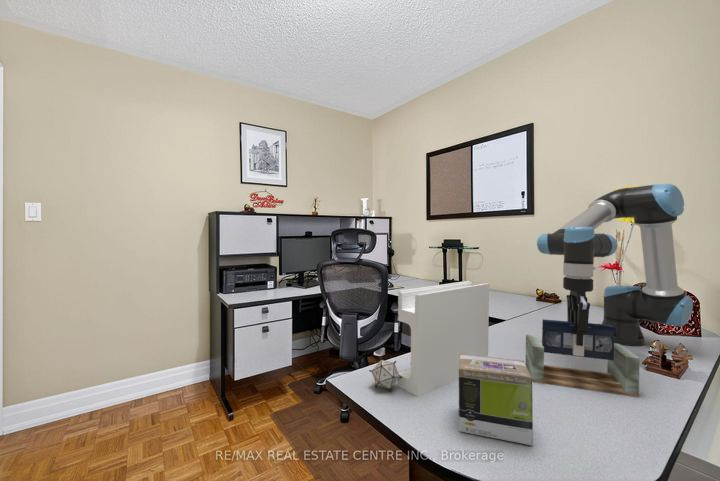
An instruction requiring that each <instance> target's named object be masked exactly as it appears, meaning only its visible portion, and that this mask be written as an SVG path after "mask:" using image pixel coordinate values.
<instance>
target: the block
mask: <svg viewBox="0 0 720 481" xmlns="http://www.w3.org/2000/svg"><path fill="white" fill-rule="evenodd" d="M472 284H473V282H472V281H471V280H465V281H464V280H463V281H459V282H458V281H457V282H451V283H450V282H449V283H445V284H436V285H430V286H423V287H414V288H409V289H401V290H398V291H397V292H398V293H397V294H398V297H397V299H398V300H397V305H398V307H397V315H398V316H397V321H399V322H402V323H404V324H407V325H408V326H409V327H410V369H407V370H404V371H401V372H398V374H399V376H401V377H402V378H399V379H398V380H397V386H398V387H400V388H402V389H403V390H405V391H406V392H409V393H410V394H411V395H413V396H416V397H418V398H419V397H421V396H424V395H425V394H427V393H430V392H432V391H434V390H436V389H438V388H442V387H443V386H445V385H447V384H449V383H451V382H454V381H456V380H459V356H460V354H466V355H476V356H485V357H489V330H490V329H489V323H490V322H489V320H490V319H489V317H490V315H489V314H490V313H489V312H490V283H489V282H488V283H487V282H486V283H480V284H474V285H472Z"/></svg>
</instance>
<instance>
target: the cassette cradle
mask: <svg viewBox="0 0 720 481" xmlns="http://www.w3.org/2000/svg"><path fill="white" fill-rule="evenodd" d="M640 362H641V361H640V357H638V356H637V355H636V354H635V353H633V352H631V351H630V350H628V349H627V348H626V347H625V346H624V345H623V344H618V343H614V360H607V367H606V368H607V370H606V371H607V372H601V371H594V370H585V369H579V368H571V367H562V366H554V365H548V364H545V352H544V347H543V345H542V341H540V339H539V338H538V336H537V335H535V334H534V335H533V334H527V333H526V334H525V365H526V367H527V369H528V371H529V373H530V375H531V377H532V383H537V384H538V383H540V384H547V385H554V386H559V387H565V388H566V387H567V388H573V389H578V390H579V389H581V390H587V391H588V390H589V391H594V392H601V393H606V394H607V393H609V394H614V395H621V396H628V397H636V398H639V397H640V394H639V393H640Z"/></svg>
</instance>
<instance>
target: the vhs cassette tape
mask: <svg viewBox="0 0 720 481" xmlns="http://www.w3.org/2000/svg"><path fill="white" fill-rule="evenodd" d="M541 327H542V328H541V330H542V331H541V334H542V335H541V344H542V345H543V347H544V353H547V354H556V355H562V356H563V355H564V356H572V357H577V356H576V355H573V334H572V332H574V322H569V321H568V320H556V319H555V320H554V319H545V318H544V319H542V326H541ZM614 333H615V332H614V327H613V326H612V325H604V324H602V323H591V322H588V334H587V335H584V356H578V357H580V358H586V359H587V358H588V359H595V360H596V359H597V360H606V361H608V360H614Z"/></svg>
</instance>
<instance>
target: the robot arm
mask: <svg viewBox="0 0 720 481" xmlns="http://www.w3.org/2000/svg"><path fill="white" fill-rule="evenodd" d="M684 206H685V201H684V197H683V194H682V191H681V190H680V188H678V187H677V186H676V185H675V184H671V183H663V184H660V183H659V184H658V183H656V184H650V185H649V184H648V185H641V186H635V187H623V188H618V189H615V190H612V191H609V192H608V193H606V194H604V195H602V196H600V197H598V198H596V199H595V200H593V201H592V202H590V203H589V205H588V207H587V208H586V209H585V210H584V211H582V212H581V213H579V214H578V215H577V216H576V217H574V218H572V219H571V220H570V221H568V222H567V223H565V224H564V225H563V226H561V227H560V228H558V229H557V230H556V231H553V233H549V232H548V233H542V234H540V235H539V236H538V238H537V241H536V246H537V250H538V251H539V252H540V253H541V254H544V255H554V256H555V255H556V256H563V263H562V264H563V267H562V268H563V269H562V274H563V276H564V277H563V278H562V287H563V289H564V290H566V291H569V294H566V305H567V306H566V308H567V311H566V312H567V315H566V316H567V318H566V319H567V321H569V322H574V332H572V334H573V355H576V356H575V357H579V356H584V335H587V334H588V323H589V317H590V316H589V314H590V308H591V304H590V302H588V297H587V295H586V294H587V292H588V293H589V292H593V291H594V279H593V277H594V271H595V270H596V267H595V266H594V263H595V262H594V261H595V259H594V258H605V257H610V256H612V255H613V254H615V253H616V252H617V250H618V241H617V240H616V238H615V237H613V236H612V235H610V234H609V233H608V234H606V233H595V230H596V229H597V228H598V227H601V225H602V224H604V223H608V222H609V223H610V222H611V221H612V220H614V219H624V218H625V219H627V218H628V219H629V218H632V219H633V221H634V224H635V225H637V226H638V227H639V229H640V238H641V246H642V257H643V265H644V274H645V284H646V285H645V286H643V287H642V288H641V287H640V286H638V285H612V286H611V285H610V286H606V287H605V288H604V293H603V296H602V297H603V320H602V322H601V324H604V325H612V326H613V327H614V332H615V333H614V343H616V344H620V345H622V346H624V345H625V346H631V347H632V346H635V347H637V346H638V347H639V346H644V345H645V336H644V334H643V331H642V328H641V326H640V320H641V321H648V322H652V323H657V324H662V325H666V326H673V327H684V326H685V325H686V324H687V323H688V322H689V320H690V318H691V316H692V313H693V309H694V308H693V307H694V300H693V298H692V297H690V296H688V295H685V290H684V288H682V287H680V286H678V276H677V264H676V257H675V256H676V254H675V244H674V233H673V224H674V223H675V222H677V221H678V216H682V214H683V213H684V210H685V208H684Z"/></svg>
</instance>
